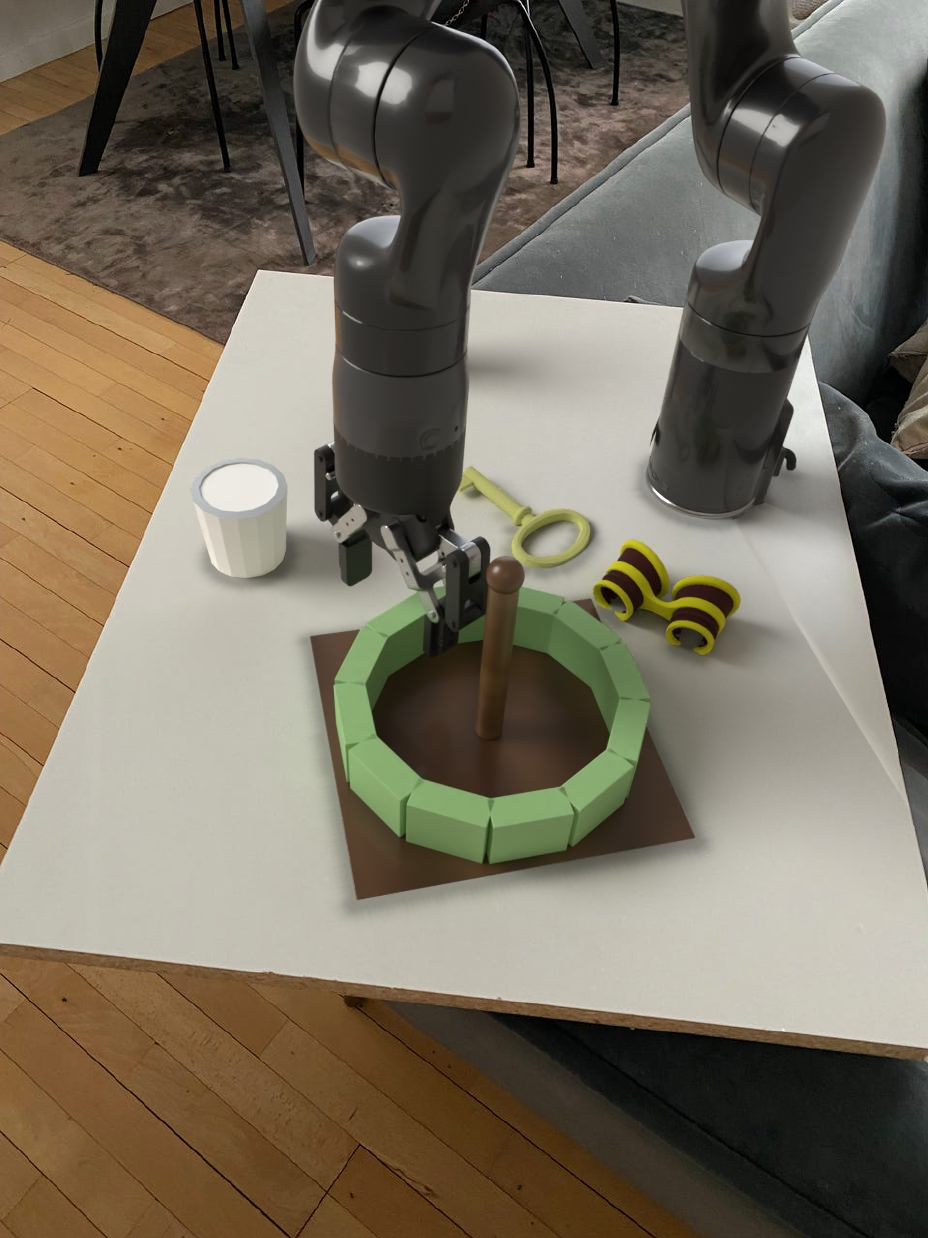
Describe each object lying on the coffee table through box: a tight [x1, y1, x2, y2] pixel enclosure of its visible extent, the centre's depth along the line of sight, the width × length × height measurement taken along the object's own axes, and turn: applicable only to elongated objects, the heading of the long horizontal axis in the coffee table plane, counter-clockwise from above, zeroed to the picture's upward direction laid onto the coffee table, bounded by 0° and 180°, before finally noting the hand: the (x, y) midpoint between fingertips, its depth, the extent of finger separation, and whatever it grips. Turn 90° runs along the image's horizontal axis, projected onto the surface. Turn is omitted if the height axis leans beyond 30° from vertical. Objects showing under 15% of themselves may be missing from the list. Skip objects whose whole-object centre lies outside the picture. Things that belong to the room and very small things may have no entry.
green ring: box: [334, 585, 652, 864], centre depth 68 cm, size 20×20×4 cm
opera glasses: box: [592, 539, 741, 656], centre depth 76 cm, size 10×5×5 cm, turn 56°
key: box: [457, 465, 591, 569], centre depth 83 cm, size 7×12×2 cm, turn 62°
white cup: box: [190, 457, 288, 579], centre depth 78 cm, size 7×7×7 cm
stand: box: [309, 555, 696, 901], centre depth 64 cm, size 21×21×16 cm
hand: (396, 612), depth 70 cm, fingers open, 8 cm apart
